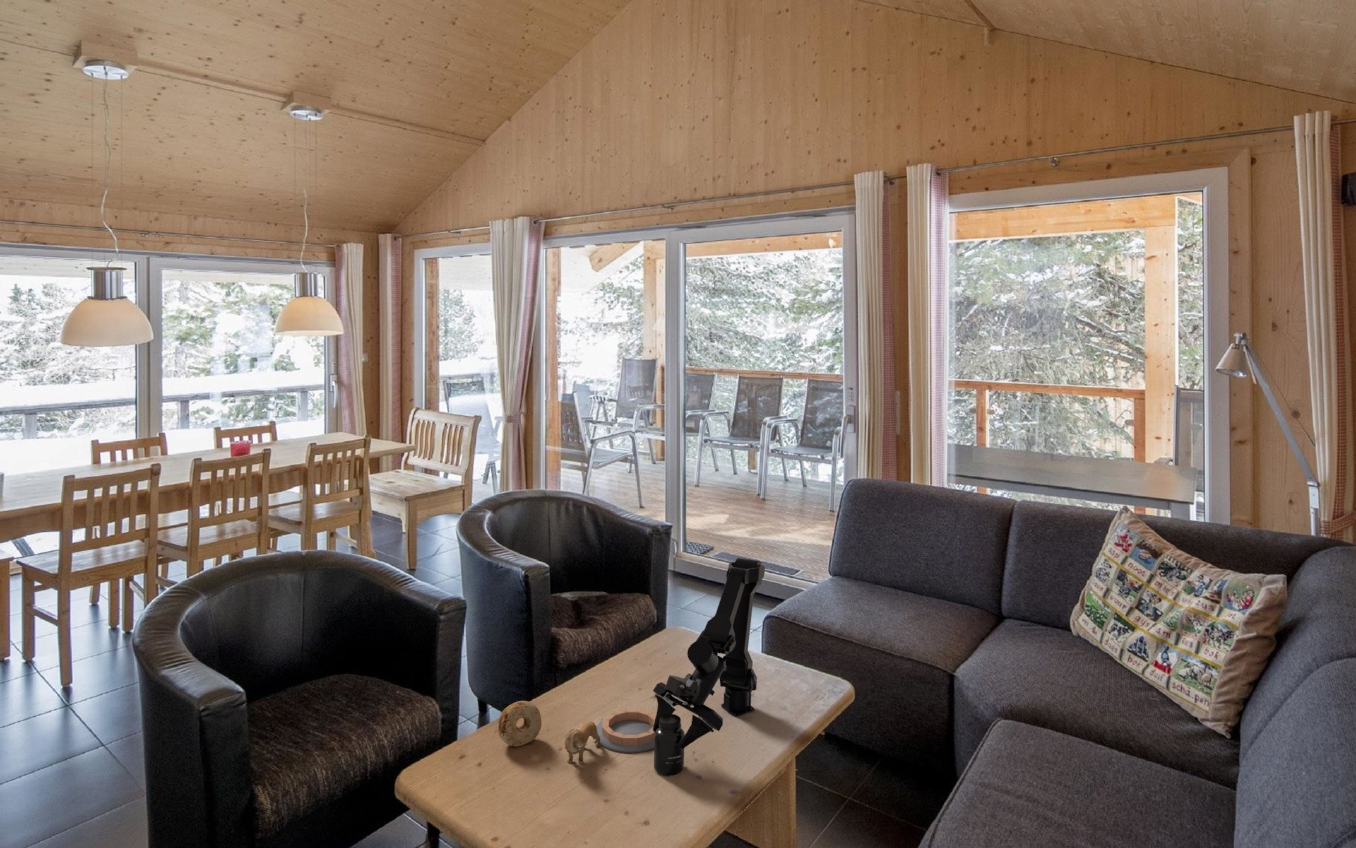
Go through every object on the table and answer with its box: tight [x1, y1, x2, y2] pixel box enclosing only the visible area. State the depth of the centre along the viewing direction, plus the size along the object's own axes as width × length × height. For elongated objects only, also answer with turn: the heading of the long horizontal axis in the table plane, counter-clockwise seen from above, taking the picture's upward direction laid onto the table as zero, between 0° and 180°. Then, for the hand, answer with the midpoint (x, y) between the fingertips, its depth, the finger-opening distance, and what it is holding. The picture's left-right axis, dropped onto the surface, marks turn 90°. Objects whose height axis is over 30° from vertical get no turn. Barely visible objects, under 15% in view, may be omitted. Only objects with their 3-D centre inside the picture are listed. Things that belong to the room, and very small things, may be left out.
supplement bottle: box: [653, 713, 686, 777], centre depth 181 cm, size 7×7×12 cm
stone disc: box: [497, 700, 542, 747], centre depth 190 cm, size 10×4×10 cm, turn 123°
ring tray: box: [595, 708, 656, 754], centre depth 196 cm, size 18×18×3 cm
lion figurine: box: [564, 721, 601, 765], centre depth 186 cm, size 15×5×9 cm, turn 165°
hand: (667, 739), depth 180 cm, fingers open, 9 cm apart
